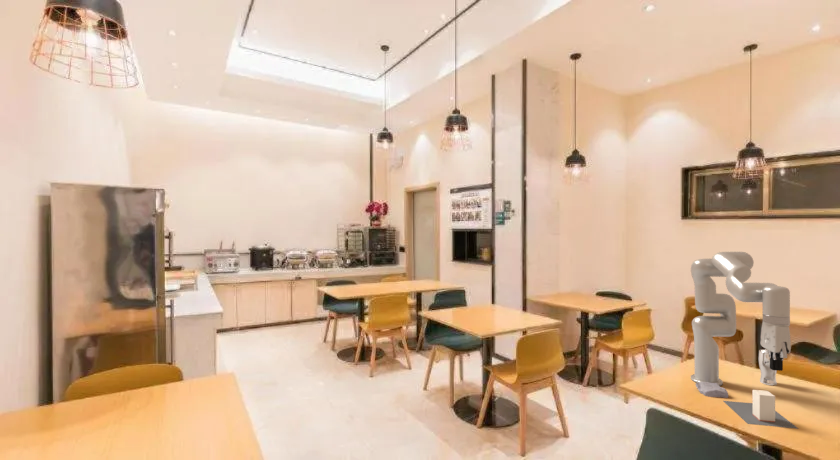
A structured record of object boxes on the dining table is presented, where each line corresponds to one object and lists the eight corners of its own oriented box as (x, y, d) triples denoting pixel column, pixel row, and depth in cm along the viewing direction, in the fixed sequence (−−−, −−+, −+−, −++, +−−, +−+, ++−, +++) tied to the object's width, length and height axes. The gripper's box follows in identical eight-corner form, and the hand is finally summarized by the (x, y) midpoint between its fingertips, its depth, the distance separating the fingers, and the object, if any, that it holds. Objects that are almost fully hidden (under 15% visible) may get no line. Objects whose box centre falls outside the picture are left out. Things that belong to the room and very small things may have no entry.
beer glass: (776, 381, 191) (776, 350, 190) (779, 387, 185) (779, 355, 184) (757, 379, 194) (757, 348, 194) (760, 384, 188) (760, 352, 188)
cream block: (752, 414, 158) (752, 389, 158) (767, 416, 156) (767, 390, 156) (759, 420, 153) (759, 395, 153) (775, 422, 152) (775, 396, 151)
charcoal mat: (722, 402, 170) (722, 400, 170) (767, 406, 166) (767, 404, 166) (747, 425, 151) (747, 423, 151) (798, 430, 147) (798, 428, 147)
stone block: (706, 403, 174) (731, 400, 172) (703, 392, 175) (728, 389, 173) (693, 392, 186) (716, 389, 184) (690, 382, 186) (714, 379, 184)
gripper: (752, 315, 154) (753, 362, 155) (776, 324, 140) (776, 376, 140) (776, 315, 152) (776, 363, 153) (801, 325, 138) (802, 378, 138)
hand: (776, 369), depth 146 cm, fingers closed
